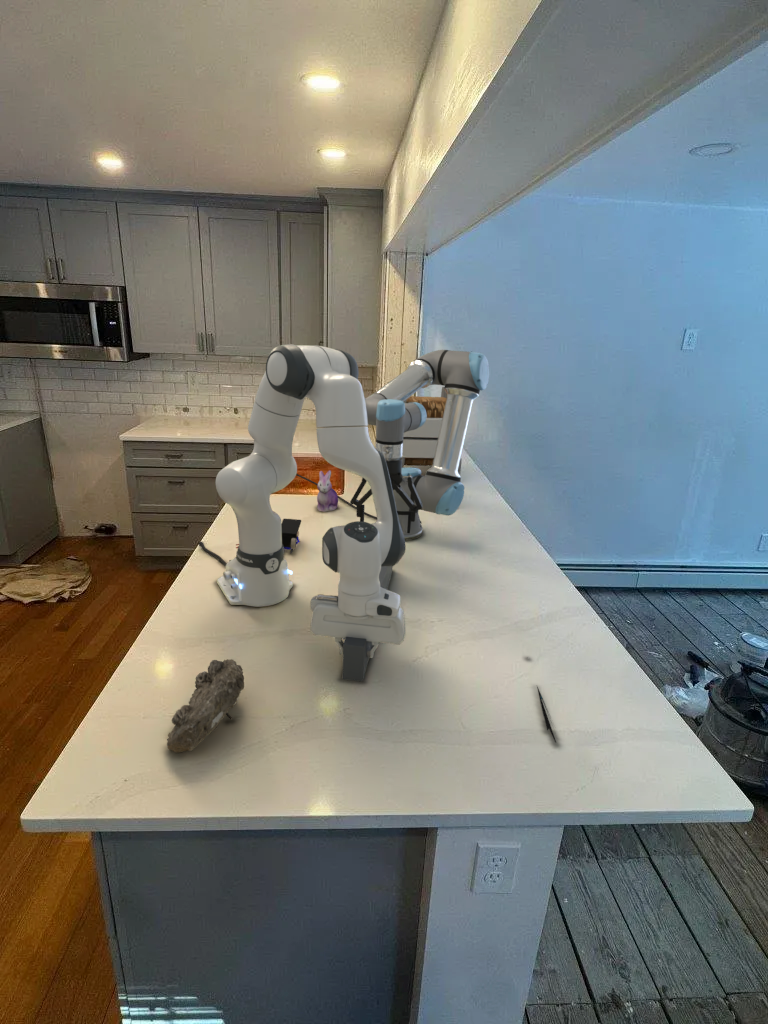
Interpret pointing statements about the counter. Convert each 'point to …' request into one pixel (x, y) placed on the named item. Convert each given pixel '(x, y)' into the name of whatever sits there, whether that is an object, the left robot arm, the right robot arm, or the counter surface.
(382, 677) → the counter surface
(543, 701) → the feather
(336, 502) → the figurine
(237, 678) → the fossil
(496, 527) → the counter surface
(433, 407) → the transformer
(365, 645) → the bar
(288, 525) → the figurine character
